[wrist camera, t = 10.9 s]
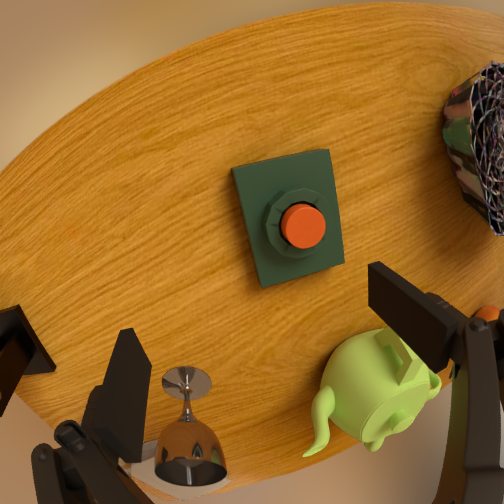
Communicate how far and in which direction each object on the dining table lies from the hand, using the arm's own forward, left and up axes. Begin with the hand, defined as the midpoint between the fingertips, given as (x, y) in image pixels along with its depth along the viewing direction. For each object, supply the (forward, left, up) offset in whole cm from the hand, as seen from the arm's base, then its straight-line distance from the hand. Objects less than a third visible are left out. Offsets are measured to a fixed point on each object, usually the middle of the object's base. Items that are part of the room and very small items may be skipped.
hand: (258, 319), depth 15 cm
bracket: (+4, -35, -17) cm, 39 cm away
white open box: (+43, -28, -18) cm, 54 cm away
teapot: (+28, +11, -18) cm, 35 cm away
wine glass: (+19, -13, -18) cm, 29 cm away
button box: (+1, +7, -17) cm, 19 cm away
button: (+1, +7, -14) cm, 15 cm away
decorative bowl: (0, +42, -18) cm, 46 cm away
